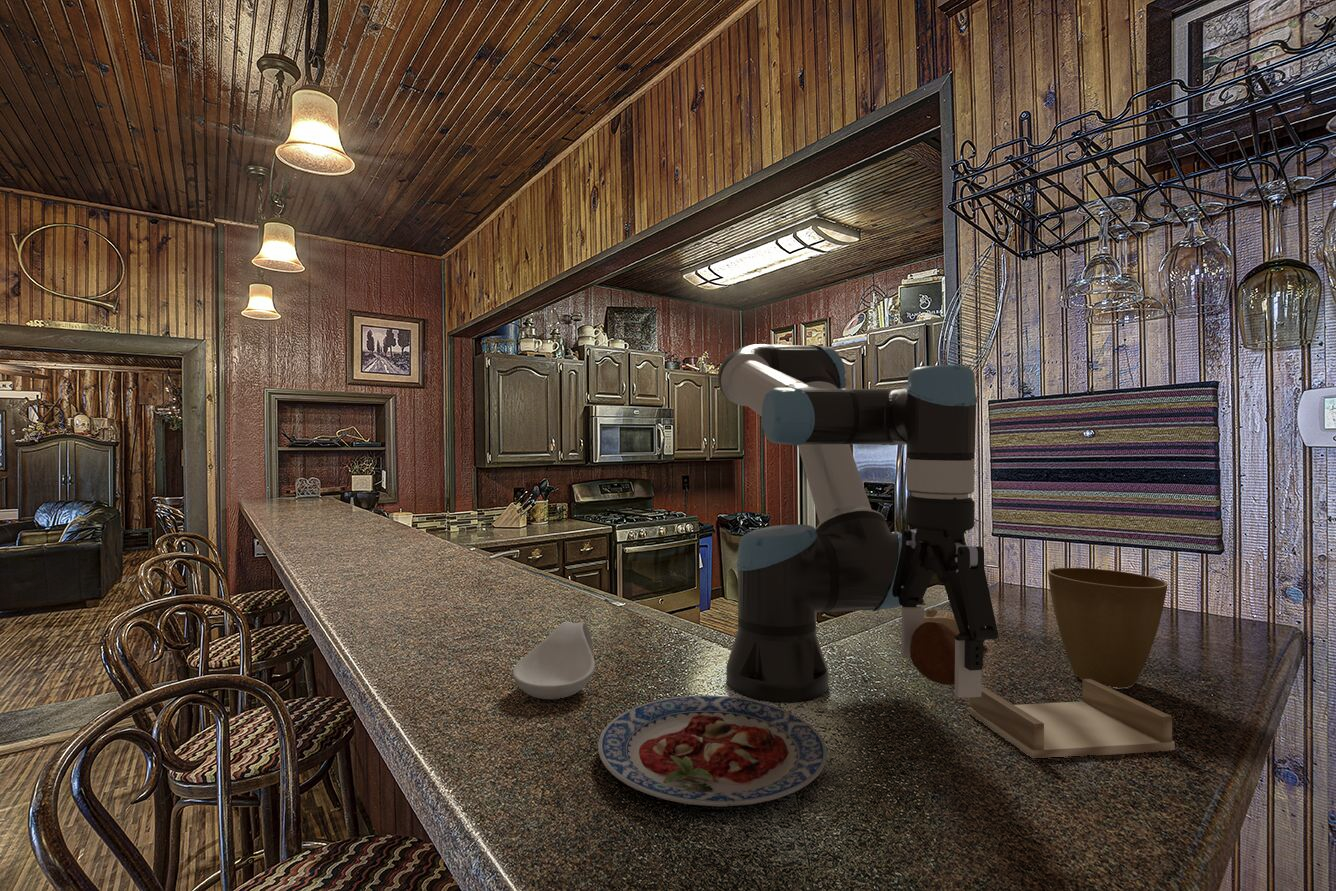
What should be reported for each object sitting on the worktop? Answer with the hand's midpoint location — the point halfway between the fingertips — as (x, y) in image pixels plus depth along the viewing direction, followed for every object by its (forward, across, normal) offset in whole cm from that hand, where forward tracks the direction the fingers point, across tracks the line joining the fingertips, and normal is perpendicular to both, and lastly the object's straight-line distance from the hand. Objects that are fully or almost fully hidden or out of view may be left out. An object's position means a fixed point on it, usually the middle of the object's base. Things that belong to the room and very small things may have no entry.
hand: (938, 675), depth 75 cm
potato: (+1, 0, 0) cm, 1 cm away
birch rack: (+8, 0, -17) cm, 19 cm away
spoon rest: (+9, +26, +46) cm, 54 cm away
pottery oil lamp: (+9, +33, -22) cm, 41 cm away
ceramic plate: (+8, -1, +28) cm, 29 cm away
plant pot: (+8, +15, -36) cm, 40 cm away
